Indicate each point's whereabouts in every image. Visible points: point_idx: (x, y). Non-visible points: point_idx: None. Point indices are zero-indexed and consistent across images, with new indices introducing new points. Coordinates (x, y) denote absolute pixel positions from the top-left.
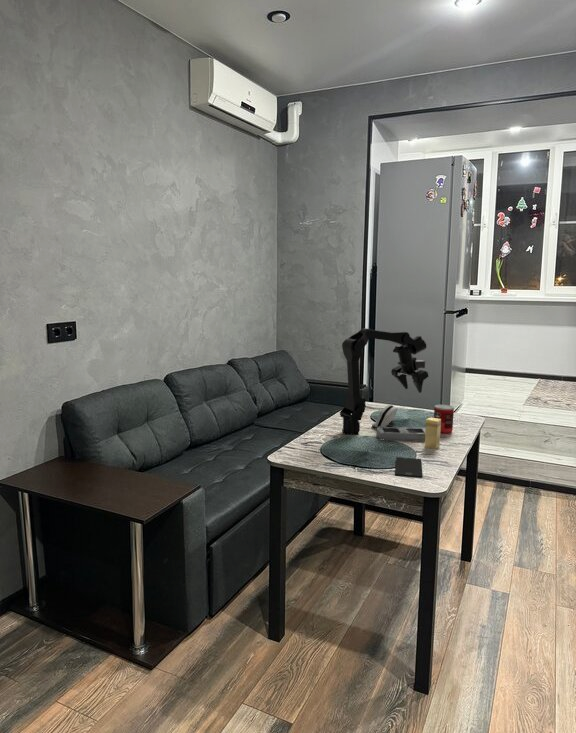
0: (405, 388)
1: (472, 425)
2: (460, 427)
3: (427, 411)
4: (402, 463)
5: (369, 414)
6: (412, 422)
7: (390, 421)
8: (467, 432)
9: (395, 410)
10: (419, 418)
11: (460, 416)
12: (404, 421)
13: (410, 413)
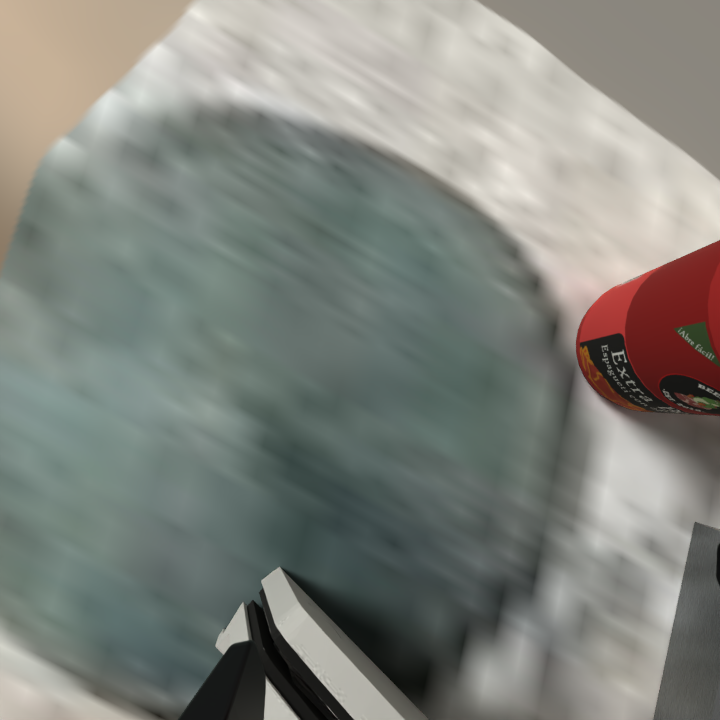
0: (260, 710)
1: (531, 64)
2: (562, 170)
3: (91, 155)
4: None
5: (34, 671)
6: (361, 436)
7: (349, 640)
8: (686, 195)
9: (363, 670)
10: (266, 323)
11: (292, 8)
12: (319, 483)
13: (108, 313)
